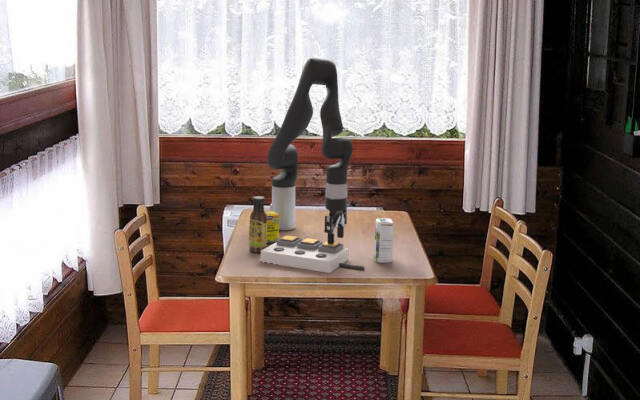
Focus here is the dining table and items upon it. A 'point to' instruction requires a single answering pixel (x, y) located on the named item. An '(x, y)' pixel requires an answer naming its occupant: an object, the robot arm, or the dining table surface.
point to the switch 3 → (331, 245)
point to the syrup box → (383, 240)
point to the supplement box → (272, 227)
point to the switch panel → (307, 256)
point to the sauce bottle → (258, 226)
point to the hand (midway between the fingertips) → (335, 240)
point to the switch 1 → (289, 238)
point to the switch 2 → (310, 241)
